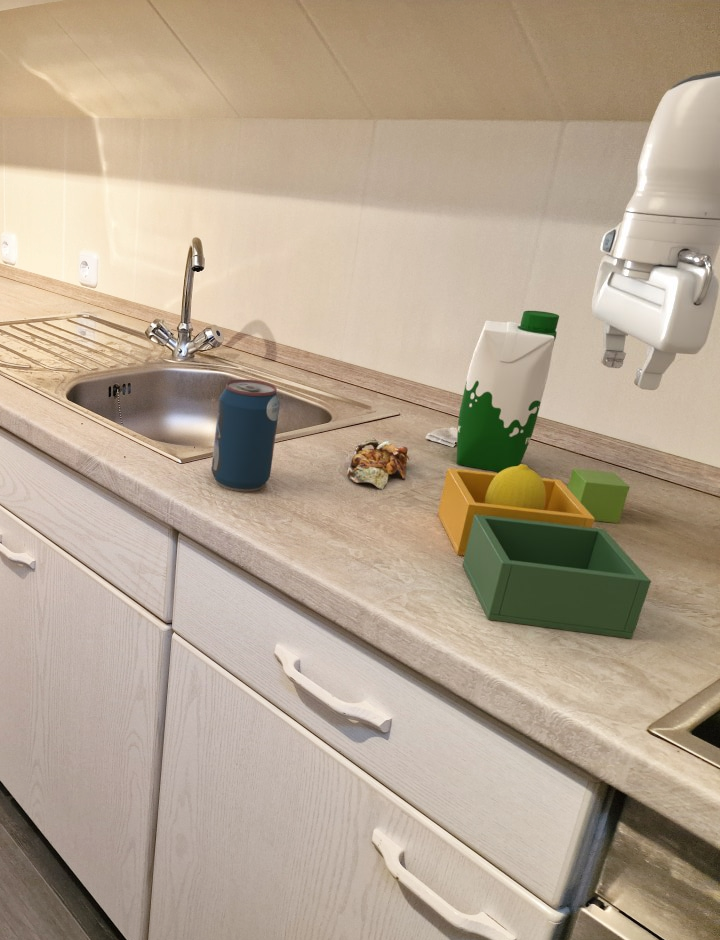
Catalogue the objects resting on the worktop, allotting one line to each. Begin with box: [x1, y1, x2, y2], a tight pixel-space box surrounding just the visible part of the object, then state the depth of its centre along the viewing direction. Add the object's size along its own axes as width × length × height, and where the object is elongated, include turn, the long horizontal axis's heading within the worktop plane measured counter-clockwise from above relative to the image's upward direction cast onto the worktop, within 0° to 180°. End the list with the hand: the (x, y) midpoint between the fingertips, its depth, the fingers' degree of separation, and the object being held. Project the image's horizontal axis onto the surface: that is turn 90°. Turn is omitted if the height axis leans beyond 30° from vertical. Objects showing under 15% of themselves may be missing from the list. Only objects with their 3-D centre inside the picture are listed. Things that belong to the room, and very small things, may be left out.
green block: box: [567, 467, 630, 524], centre depth 97 cm, size 4×4×4 cm
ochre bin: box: [437, 467, 595, 556], centre depth 89 cm, size 12×11×6 cm
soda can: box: [210, 379, 281, 493], centre depth 100 cm, size 7×7×12 cm
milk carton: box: [456, 310, 560, 473], centre depth 109 cm, size 9×9×20 cm
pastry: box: [346, 437, 410, 490], centre depth 107 cm, size 7×12×4 cm, turn 156°
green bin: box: [461, 514, 652, 640], centre depth 77 cm, size 12×11×6 cm
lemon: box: [485, 463, 546, 510], centre depth 88 cm, size 6×6×8 cm
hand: (626, 376), depth 92 cm, fingers open, 8 cm apart
